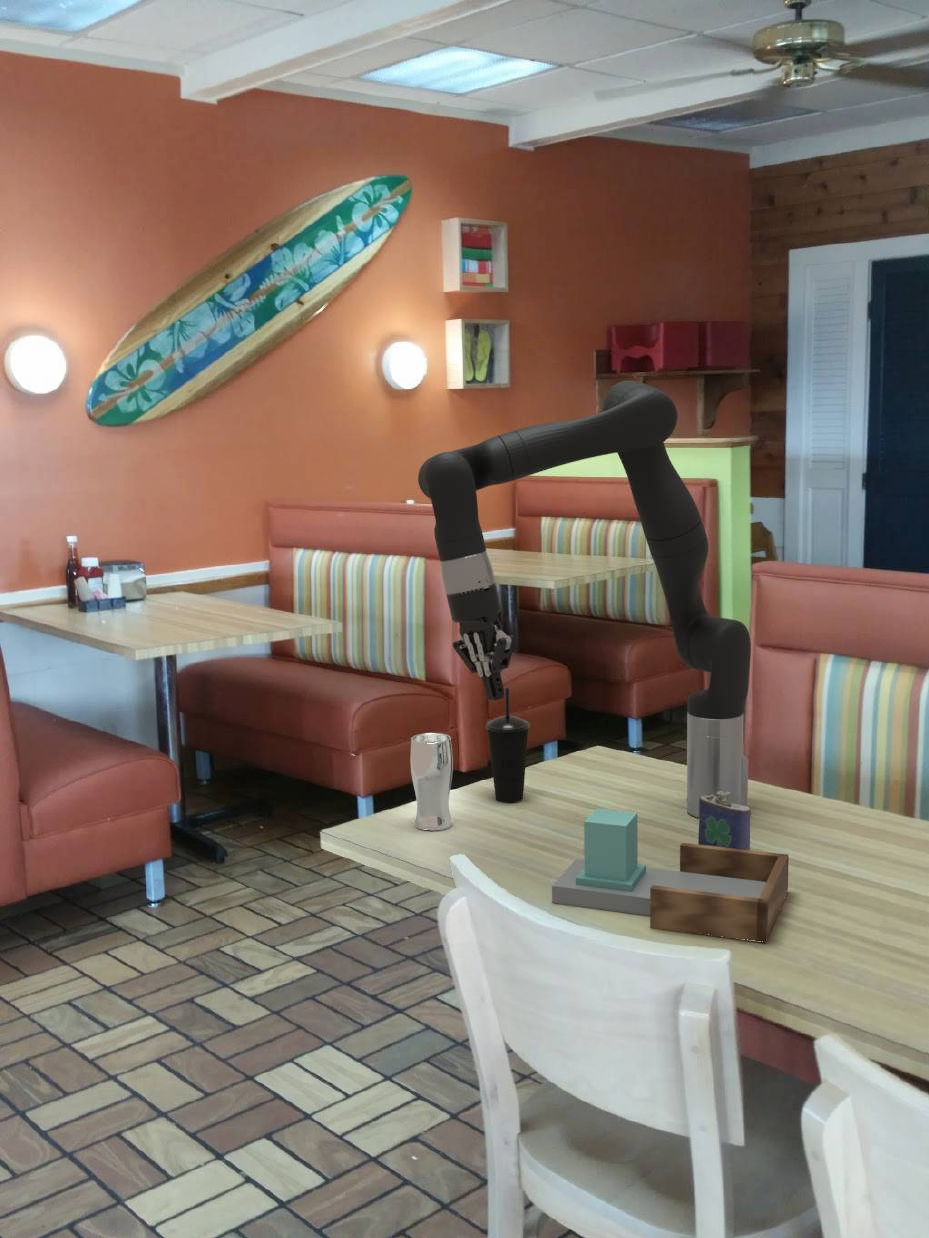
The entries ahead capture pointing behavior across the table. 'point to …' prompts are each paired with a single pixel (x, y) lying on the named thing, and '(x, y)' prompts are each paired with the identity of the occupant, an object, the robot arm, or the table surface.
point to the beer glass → (432, 779)
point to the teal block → (611, 851)
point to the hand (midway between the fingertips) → (496, 699)
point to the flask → (723, 822)
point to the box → (723, 910)
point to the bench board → (644, 889)
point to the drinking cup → (508, 754)
